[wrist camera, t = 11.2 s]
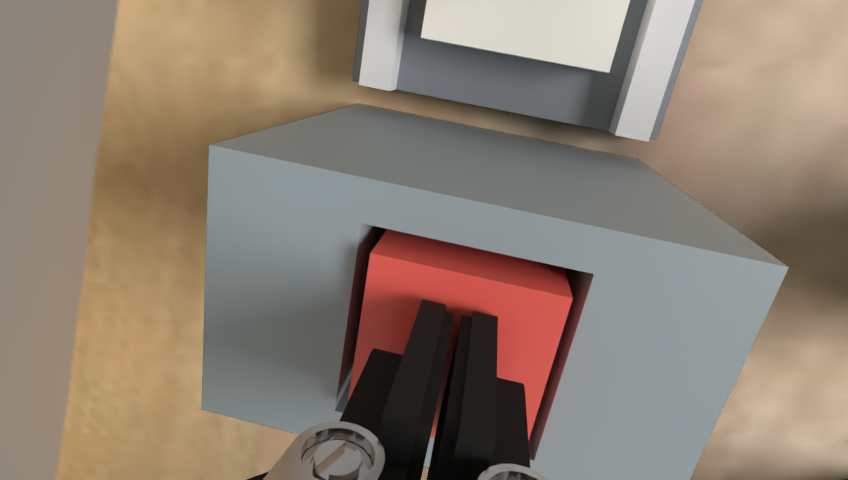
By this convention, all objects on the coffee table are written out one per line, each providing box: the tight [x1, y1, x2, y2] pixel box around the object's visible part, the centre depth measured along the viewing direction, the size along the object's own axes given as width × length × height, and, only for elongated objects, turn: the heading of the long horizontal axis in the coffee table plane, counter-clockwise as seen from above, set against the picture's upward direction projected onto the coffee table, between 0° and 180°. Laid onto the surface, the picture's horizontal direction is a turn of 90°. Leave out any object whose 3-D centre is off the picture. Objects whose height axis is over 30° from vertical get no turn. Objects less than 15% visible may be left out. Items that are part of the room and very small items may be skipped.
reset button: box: [348, 229, 573, 441], centre depth 13 cm, size 4×4×4 cm
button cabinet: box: [202, 104, 789, 480], centre depth 17 cm, size 7×12×12 cm, turn 80°
